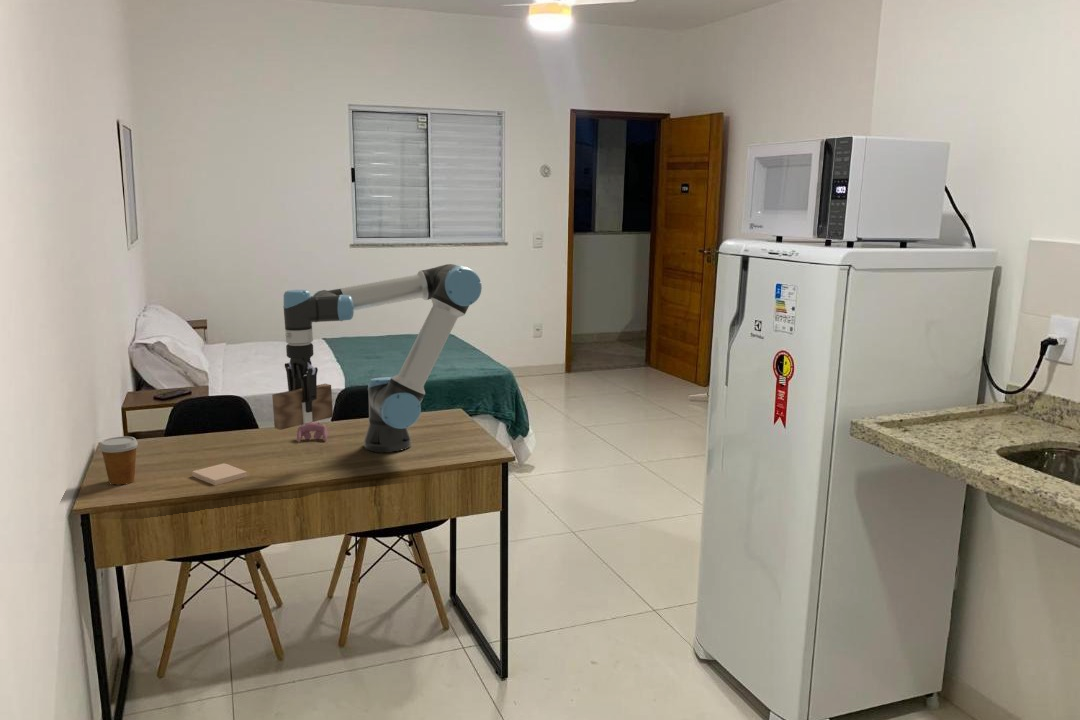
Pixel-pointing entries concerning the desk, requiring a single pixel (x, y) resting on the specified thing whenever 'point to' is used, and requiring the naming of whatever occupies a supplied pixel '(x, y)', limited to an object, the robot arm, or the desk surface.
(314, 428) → the video game controller
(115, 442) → the disposable coffee cup
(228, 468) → the tile
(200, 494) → the desk surface
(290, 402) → the wooden plank
